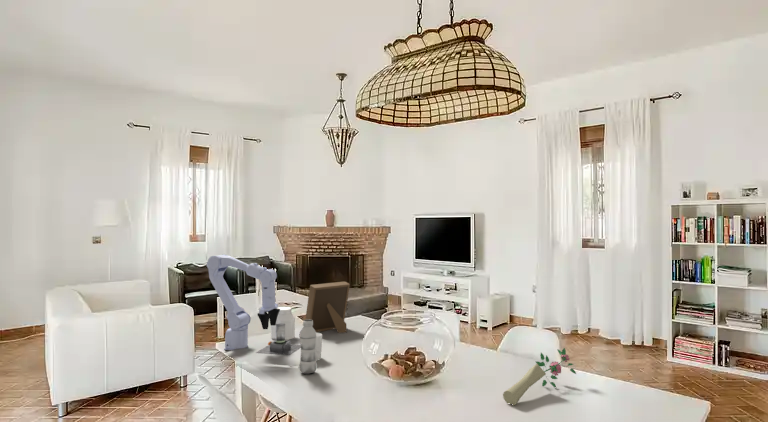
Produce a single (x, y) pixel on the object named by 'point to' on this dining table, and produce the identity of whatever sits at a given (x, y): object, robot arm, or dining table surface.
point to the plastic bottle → (307, 348)
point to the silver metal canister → (280, 333)
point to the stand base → (280, 348)
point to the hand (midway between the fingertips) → (269, 327)
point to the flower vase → (535, 378)
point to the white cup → (318, 346)
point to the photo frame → (328, 306)
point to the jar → (288, 320)
